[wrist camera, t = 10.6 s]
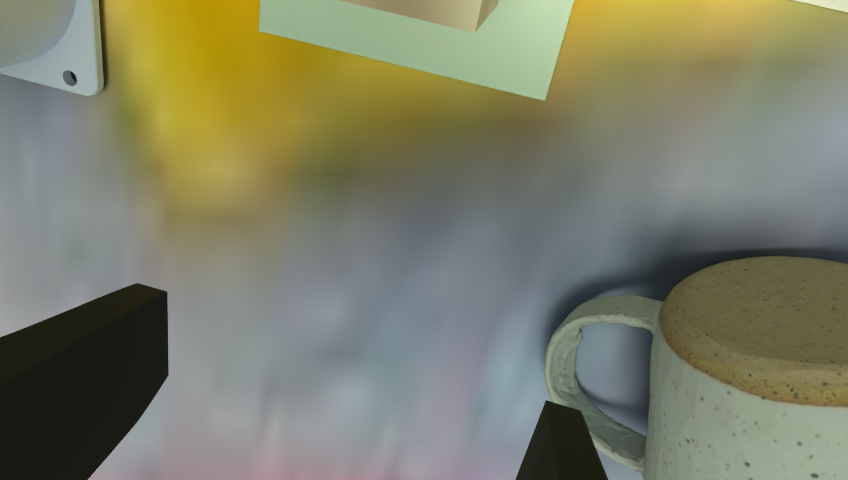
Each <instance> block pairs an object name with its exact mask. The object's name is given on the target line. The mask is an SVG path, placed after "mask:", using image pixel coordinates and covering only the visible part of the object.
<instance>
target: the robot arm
mask: <svg viewBox="0 0 848 480" xmlns="http://www.w3.org/2000/svg"><path fill="white" fill-rule="evenodd" d="M71 72H73V73H74V74H75V76H76V78H77V82H75V81H74V80H73V79H72V76H71ZM0 74H4V75H7V76H11V77H15V78H19V79H23V80H27V81H30V82H34V83H38V84H42V85H46V86H50V87H53V88H57V89H61V90H65V91H69V92H73V93H76V94H80V95H84V96H92V95H95V94H97V93H100V92H101V91H102V89H103V85H104V79H103V63H102V47H101V31H100V14H99V0H0ZM167 376H168V312H167V292H166V291H163V290H159V289H156V288H152V287H149V286H145V285H142V284H138V283H136V284H133V285H131V286H128V287H125V288H122V289H120V290H117V291H115V292H112V293H110V294H107V295H105V296H102V297H100V298H97V299H95V300H92V301H90V302H88V303H85V304H83V305H80V306H78V307H75V308H73V309H71V310H68V311H66V312H63V313H61V314H58V315H56V316H53V317H51V318H49V319H46V320H44V321H41V322H39V323H36V324H34V325H31V326H29V327H26V328H24V329H21V330H19V331H16V332H14V333H11V334H8V335H5V336H3V337H0V480H88V478H89V477H90V476H91V475H92V474H93V473H94V472H95V470H96V469H97V468H98V467H99V466H100V465H101V464H102V462H103V461H104V460H105V459H106V458H107V457H108V456H109V454H110V453H111V452H112V451H113V450H114V449H115V447H116V446H117V445H118V444H119V443H120V442H121V440H122V439H123V438H124V437H125V436H126V435H127V433H128V432H129V431H130V430H131V429H132V427H133V426H134V425H135V424H136V423H137V421H138V420H139V419H140V417H141V416H142V414H143V413H144V411H145V410H146V409H147V407H148V406H149V404H150V403H151V401H152V400H153V398H154V397H155V395H156V394H157V392H158V390H159V389H160V387H161V386H162V384H163V383H164V381H165V380H166V378H167ZM516 480H608V478H607V475H606V473H605V470H604V468H603V466H602V463H601V461H600V458H599V456H598V453H597V450H596V448H595V445H594V443H593V440H592V437H591V435H590V432H589V429H588V426H587V424H586V421H585V418H584V416H583V414H582V412H581V411H580V410H578V409H574V408H571V407H567V406H564V405H560V404H557V403H553V402H550V401H546V402H545V404H544V407H543V410H542V412H541V415H540V417H539V420H538V423H537V425H536V428H535V430H534V433H533V436H532V438H531V441H530V443H529V446H528V449H527V451H526V454H525V456H524V459H523V462H522V464H521V467H520V469H519V472H518V475H517V477H516Z"/></svg>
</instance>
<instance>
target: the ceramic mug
mask: <svg viewBox="0 0 848 480" xmlns="http://www.w3.org/2000/svg"><path fill="white" fill-rule="evenodd" d="M598 322H601V323H614V324H626V325H629V326H634V327H643V328H645V329H647V330H650V331H651V332H652V334H653V341H652V347H651V358H650V402H649V413H648V428H647V437H646V436H644V435H642V434H640V433H638V432H635V431H634V430H632V429H630V428H628V427H625V426H623V425H622V424H620V423H618V422H616V421H615V420H613V419H612V418H610V417H609V416H607V415H606V414H605V413H603V412H602V411H601V410H600V409H598V408H597V407H596V406H595V405H594V404H593V403H592V402H591V401H590V400H589V399H588V397H587V396H586V395H585V394H584V393H583V392H582V390H581V389H580V387H579V385H578V381H577V379H576V377H575V362H576V349H577V345H578V344H579V343H580V342H581V340H582V338H583V334H582V330H581V327H583V326H585V325H590V324H596V323H598ZM545 380H546V386H547V390H548V393H549V395H550V398H551V400H552V402H553V403H557V404H560V405H564V406H567V407H571V408H574V409H578V410H580V411H581V412H582V414H583V416H584V418H585V421H586V424H587V426H588V429H589V432H590V435H591V437H592V440H593V443H594V445H595V448H597V449H598V450H600V451H601V452H602V453H604V454H605V455H607V456H608V457H610V458H612V459H614V460H615V461H618V462H620V463H622V464H624V465H626V466H628V467H630V468H632V469H634V470H636V471H638V472H640V473H641V474H642V476H643V478H644V480H848V264H845V263H839V262H834V261H829V260H824V259H816V258H804V257H790V256H763V257H751V258H744V259H737V260H730V261H725V262H721V263H718V264H715V265H712V266H709V267H706V268H704V269H702V270H700V271H698V272H696V273H694V274H692V275H690V276H688V277H686V278H685V279H684V280H682V281H681V282H680V283H678V284H677V285H675V287H674V288H673V289H672V290H671V292H670V293H669V295H668V296H667V297H666V299H665V300H664V301H663V302H662V301H659V300H653V299H650V298H646V297H642V296H636V295H618V296H612V295H611V296H604V297H599V298H594V299H591V300H588V301H587V302H585V303H583V304H580V305H579V306H578V307H577V308H576V309H574V310H573V311H572V312H571V313H570V314H569V315H568V316H567V318H566V319H565V320H564V322H563V323H562V324H561V325H560V326H559V327H558V328H557V330H556V331H555V332H554V334H553V335H552V337H551V338H550V342H549V344H548V346H547V350H546V355H545Z"/></svg>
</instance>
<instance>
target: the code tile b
mask: <svg viewBox="0 0 848 480" xmlns="http://www.w3.org/2000/svg"><path fill="white" fill-rule="evenodd" d="M794 1H799V2H803V3H808V4H812V5H817V6H821V7H826V8H830V9H835V10H839V11H844V12H848V0H794Z"/></svg>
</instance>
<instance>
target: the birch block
mask: <svg viewBox="0 0 848 480" xmlns="http://www.w3.org/2000/svg"><path fill="white" fill-rule="evenodd" d="M341 1H345V2H349V3H353V4H357V5H361V6H366V7H370V8H374V9H378V10H382V11H386V12H391V13H395V14H399V15H403V16H407V17H411V18H416V19H420V20H424V21H428V22H432V23H436V24H441V25H445V26H449V27H453V28H457V29H461V30H466V31H470V32H474V33H475V32H476V31H477V30H478V28H479V27H480V26H481V25H482V24H483V22H484V21H485V20H486V19H487V18H488V16H489V15H490V14H491V13H492V12H493V10H494V9H495V8H496V7H497V5H498V0H341Z"/></svg>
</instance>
